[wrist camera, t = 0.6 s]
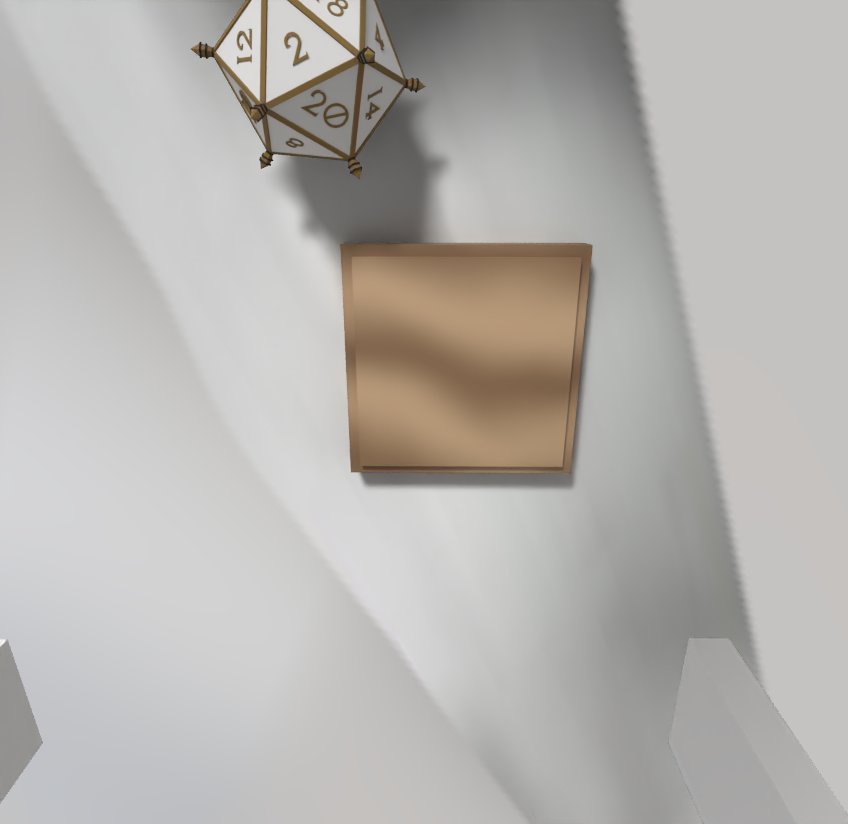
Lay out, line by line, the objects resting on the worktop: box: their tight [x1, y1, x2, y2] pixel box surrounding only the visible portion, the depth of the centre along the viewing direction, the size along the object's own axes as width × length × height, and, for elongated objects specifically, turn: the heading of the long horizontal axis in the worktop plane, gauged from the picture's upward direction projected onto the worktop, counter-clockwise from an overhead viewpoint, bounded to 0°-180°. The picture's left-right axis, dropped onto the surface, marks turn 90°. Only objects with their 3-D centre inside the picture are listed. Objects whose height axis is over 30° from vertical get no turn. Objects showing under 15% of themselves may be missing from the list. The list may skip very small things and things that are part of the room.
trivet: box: [341, 243, 592, 473], centre depth 32 cm, size 13×13×2 cm
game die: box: [191, 0, 426, 179], centre depth 25 cm, size 9×8×10 cm
